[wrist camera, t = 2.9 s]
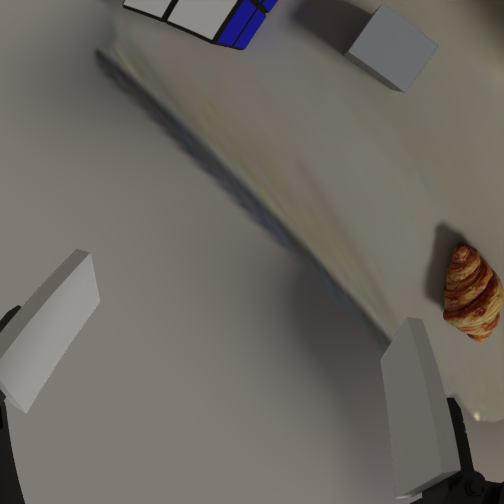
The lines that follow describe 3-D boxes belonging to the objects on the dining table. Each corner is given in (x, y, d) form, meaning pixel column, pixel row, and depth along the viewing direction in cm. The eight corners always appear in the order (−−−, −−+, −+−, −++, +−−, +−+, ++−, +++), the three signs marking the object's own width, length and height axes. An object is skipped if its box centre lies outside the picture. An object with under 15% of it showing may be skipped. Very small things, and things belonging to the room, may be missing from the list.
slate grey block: (371, 14, 22) (382, 3, 18) (419, 49, 23) (438, 45, 18) (342, 55, 26) (348, 51, 21) (390, 89, 27) (405, 93, 22)
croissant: (486, 310, 42) (517, 330, 34) (450, 351, 42) (480, 376, 35) (460, 215, 35) (504, 229, 27) (414, 264, 35) (457, 288, 28)
